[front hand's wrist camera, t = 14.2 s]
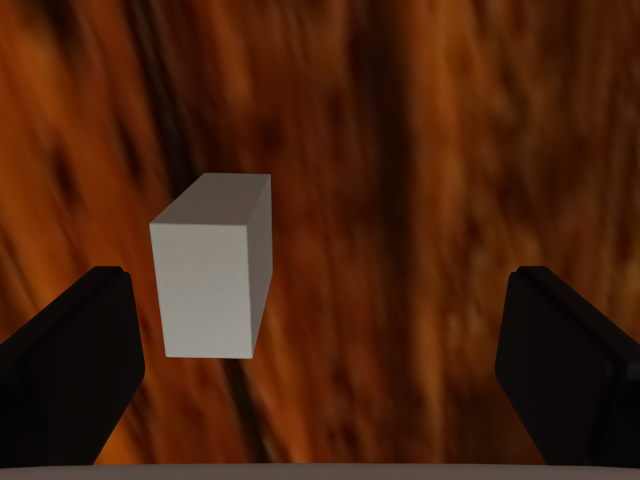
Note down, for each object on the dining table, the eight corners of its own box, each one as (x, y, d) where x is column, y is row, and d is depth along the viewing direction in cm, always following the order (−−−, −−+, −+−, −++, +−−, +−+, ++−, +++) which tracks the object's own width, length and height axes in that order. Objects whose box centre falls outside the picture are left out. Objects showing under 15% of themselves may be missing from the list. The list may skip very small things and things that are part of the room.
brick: (211, 271, 31) (165, 357, 22) (204, 172, 28) (148, 223, 19) (272, 272, 31) (252, 359, 22) (270, 173, 28) (247, 225, 19)
